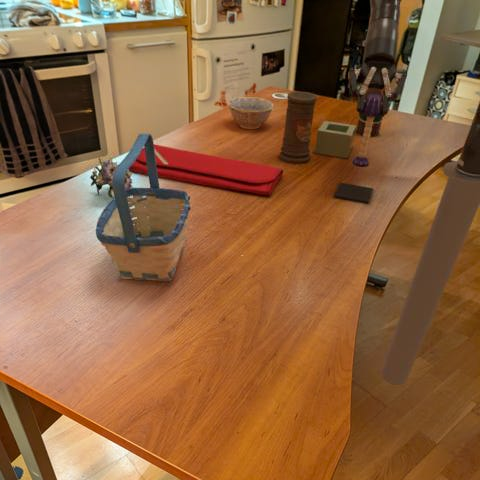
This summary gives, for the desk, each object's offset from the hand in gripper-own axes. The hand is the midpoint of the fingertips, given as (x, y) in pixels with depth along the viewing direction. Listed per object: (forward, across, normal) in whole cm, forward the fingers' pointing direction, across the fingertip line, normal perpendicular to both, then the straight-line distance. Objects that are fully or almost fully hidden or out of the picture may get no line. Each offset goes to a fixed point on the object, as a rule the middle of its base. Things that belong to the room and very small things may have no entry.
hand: (372, 113), depth 109 cm
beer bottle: (-23, +6, +53) cm, 58 cm away
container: (-1, -18, +32) cm, 36 cm away
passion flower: (+26, -61, +4) cm, 67 cm away
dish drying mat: (+12, -41, +18) cm, 47 cm away
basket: (+46, -42, -16) cm, 64 cm away
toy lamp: (+8, 0, +11) cm, 13 cm away
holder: (-8, -6, +38) cm, 40 cm away
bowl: (-19, -35, +50) cm, 64 cm away
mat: (+14, 0, +16) cm, 21 cm away
